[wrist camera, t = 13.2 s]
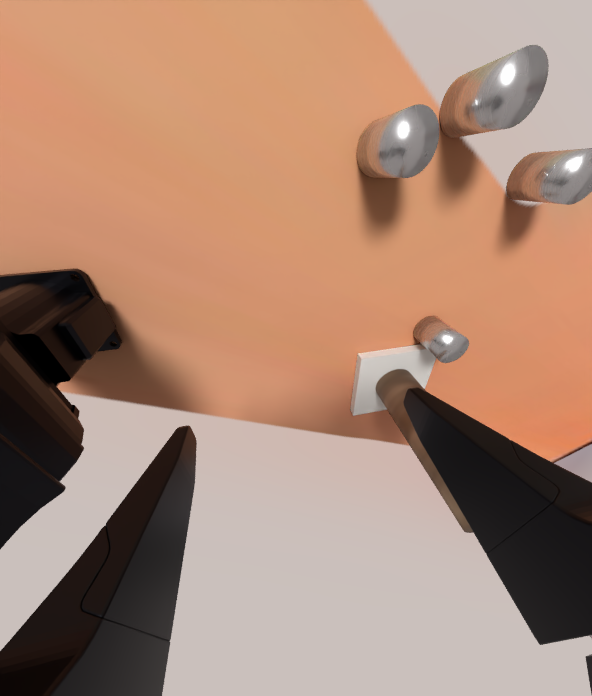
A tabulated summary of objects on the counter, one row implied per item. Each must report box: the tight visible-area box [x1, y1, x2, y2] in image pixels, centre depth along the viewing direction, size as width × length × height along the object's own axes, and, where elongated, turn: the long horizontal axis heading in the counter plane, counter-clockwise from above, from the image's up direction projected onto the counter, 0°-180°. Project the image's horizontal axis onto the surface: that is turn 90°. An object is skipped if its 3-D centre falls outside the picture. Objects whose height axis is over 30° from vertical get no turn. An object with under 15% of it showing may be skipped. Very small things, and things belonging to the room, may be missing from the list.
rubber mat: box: [350, 344, 436, 416], centre depth 29 cm, size 9×9×1 cm
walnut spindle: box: [376, 369, 473, 533], centre depth 23 cm, size 4×4×14 cm
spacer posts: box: [357, 45, 592, 363], centre depth 19 cm, size 16×20×4 cm
